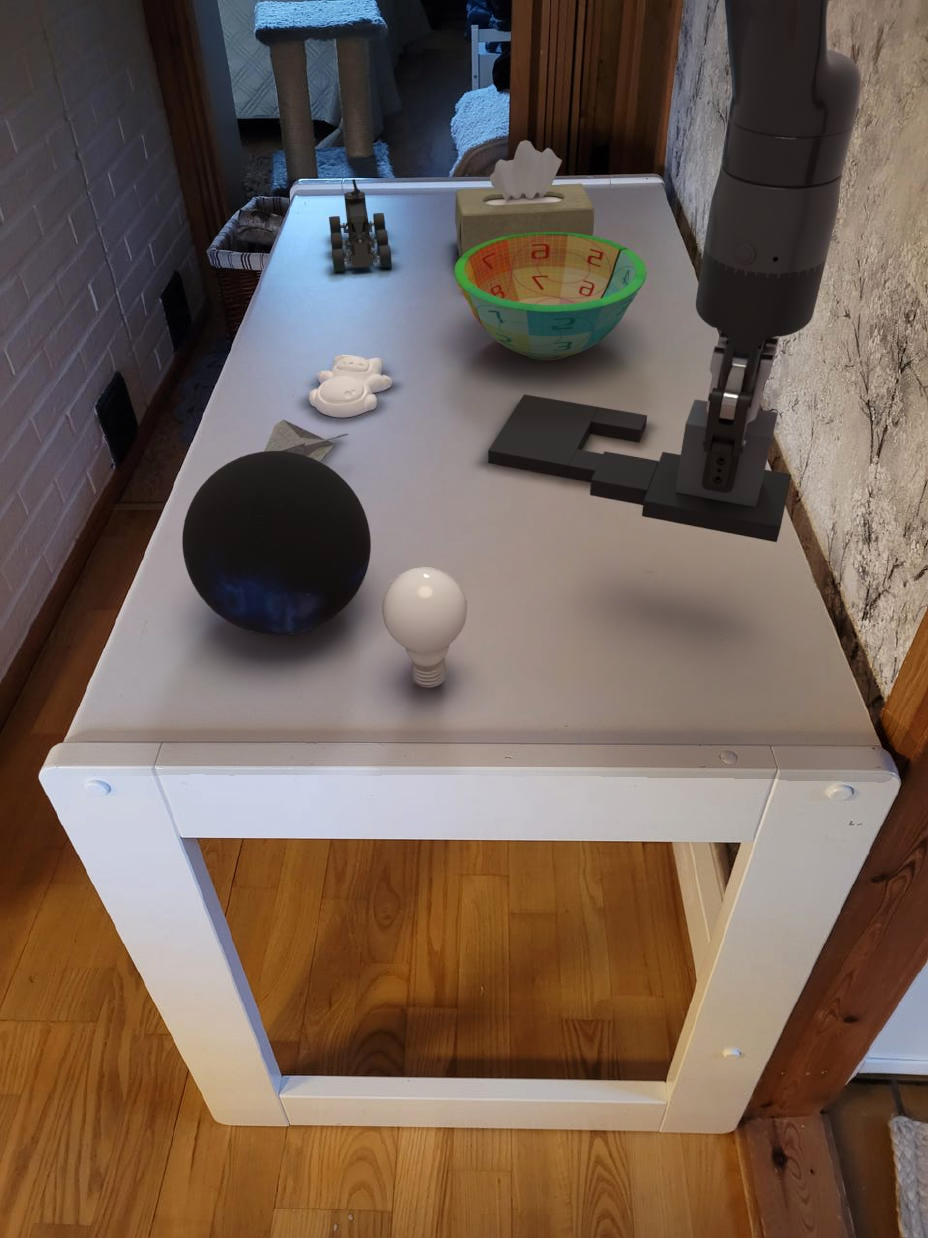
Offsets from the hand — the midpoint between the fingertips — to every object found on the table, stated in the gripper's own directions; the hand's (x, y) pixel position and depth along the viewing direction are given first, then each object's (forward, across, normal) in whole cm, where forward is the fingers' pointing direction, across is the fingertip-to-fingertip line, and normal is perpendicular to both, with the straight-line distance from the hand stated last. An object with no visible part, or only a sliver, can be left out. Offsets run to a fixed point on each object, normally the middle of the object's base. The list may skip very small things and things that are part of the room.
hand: (721, 472), depth 71 cm
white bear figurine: (+15, +26, +44) cm, 54 cm away
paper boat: (+15, +9, +42) cm, 45 cm away
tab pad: (+3, 0, +2) cm, 4 cm away
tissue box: (+15, +69, +37) cm, 80 cm away
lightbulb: (+15, -14, +19) cm, 28 cm away
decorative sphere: (+15, -10, +33) cm, 38 cm away
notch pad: (+15, +23, +17) cm, 32 cm away
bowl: (+15, +43, +26) cm, 52 cm away
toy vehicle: (+15, +62, +60) cm, 88 cm away
